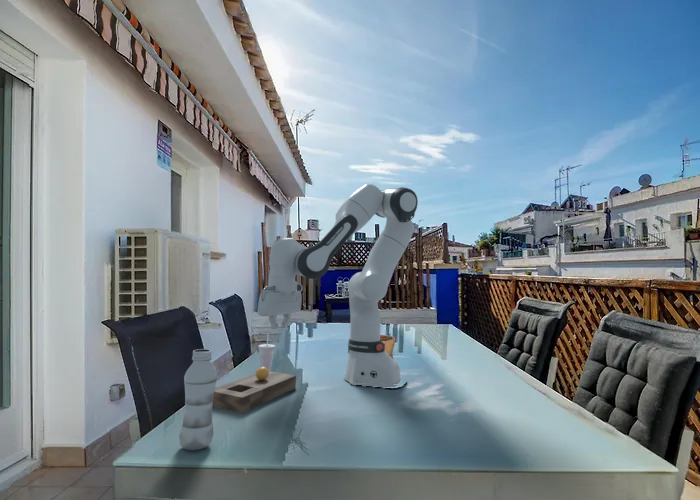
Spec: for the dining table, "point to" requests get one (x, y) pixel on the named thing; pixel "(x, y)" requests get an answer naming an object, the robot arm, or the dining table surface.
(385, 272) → the robot arm
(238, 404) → the brown wooden holder
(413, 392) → the dining table surface
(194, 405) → the plastic bottle
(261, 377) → the ball
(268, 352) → the smoothie
